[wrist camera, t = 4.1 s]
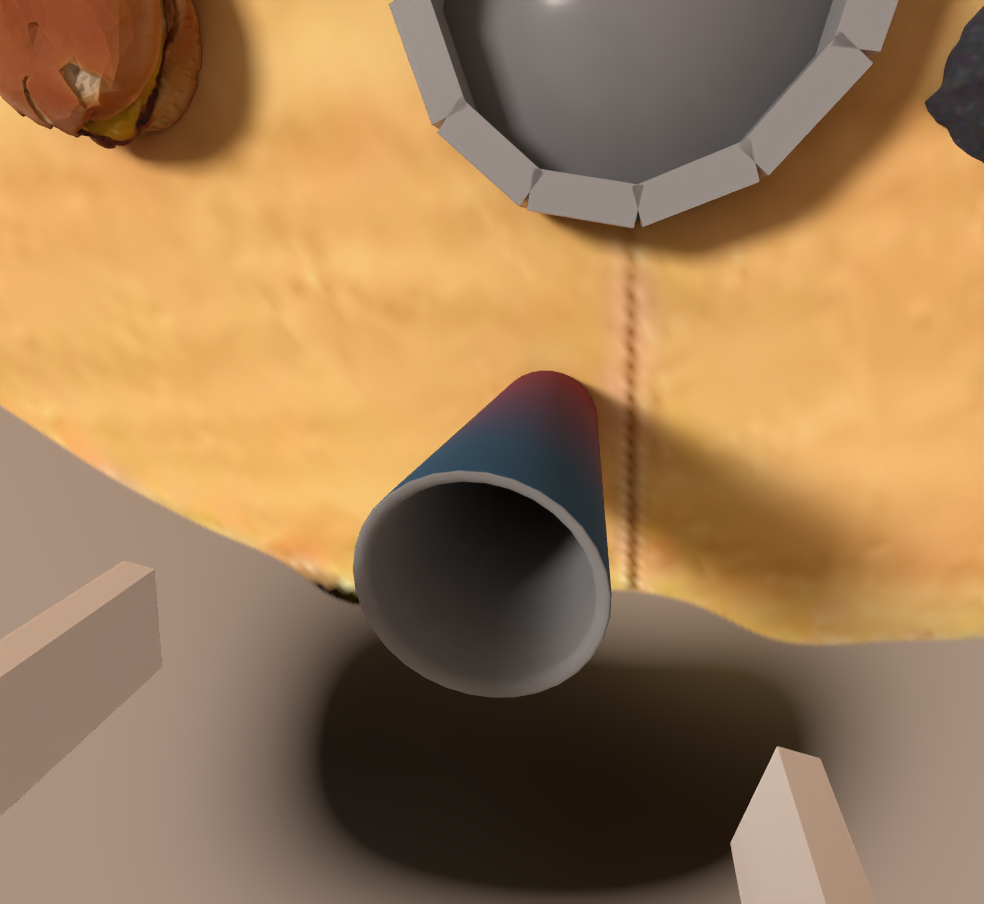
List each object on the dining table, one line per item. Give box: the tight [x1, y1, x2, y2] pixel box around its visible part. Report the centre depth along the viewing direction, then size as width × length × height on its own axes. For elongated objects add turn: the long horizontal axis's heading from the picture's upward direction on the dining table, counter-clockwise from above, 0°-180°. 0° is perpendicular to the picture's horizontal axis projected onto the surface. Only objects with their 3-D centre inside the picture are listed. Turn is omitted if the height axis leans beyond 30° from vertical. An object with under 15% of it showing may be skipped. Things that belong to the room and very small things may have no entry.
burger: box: [0, 0, 201, 149], centre depth 24 cm, size 10×9×5 cm
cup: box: [353, 371, 611, 697], centre depth 21 cm, size 7×7×15 cm
